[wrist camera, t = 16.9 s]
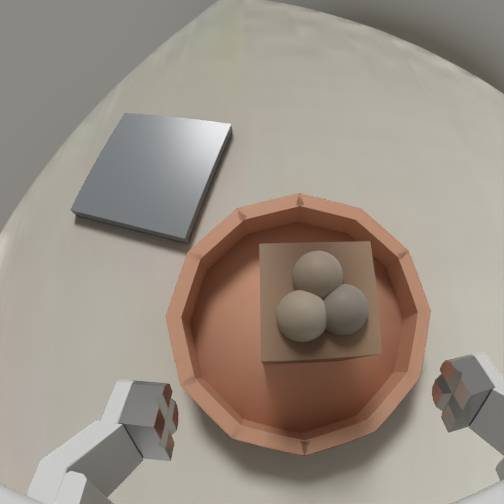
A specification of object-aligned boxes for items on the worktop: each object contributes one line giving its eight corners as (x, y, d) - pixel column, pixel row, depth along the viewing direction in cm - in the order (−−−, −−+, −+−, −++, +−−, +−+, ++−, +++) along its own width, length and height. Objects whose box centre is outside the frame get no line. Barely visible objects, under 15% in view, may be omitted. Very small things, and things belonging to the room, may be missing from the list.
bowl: (418, 247, 25) (436, 229, 21) (378, 455, 19) (395, 466, 16) (222, 199, 27) (216, 175, 24) (156, 401, 21) (138, 405, 18)
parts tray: (232, 131, 30) (231, 124, 29) (187, 243, 26) (184, 238, 25) (127, 119, 31) (125, 113, 30) (75, 214, 27) (70, 210, 26)
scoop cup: (339, 282, 23) (378, 229, 14) (344, 360, 21) (392, 351, 12) (262, 285, 23) (258, 231, 15) (263, 364, 21) (260, 360, 13)
